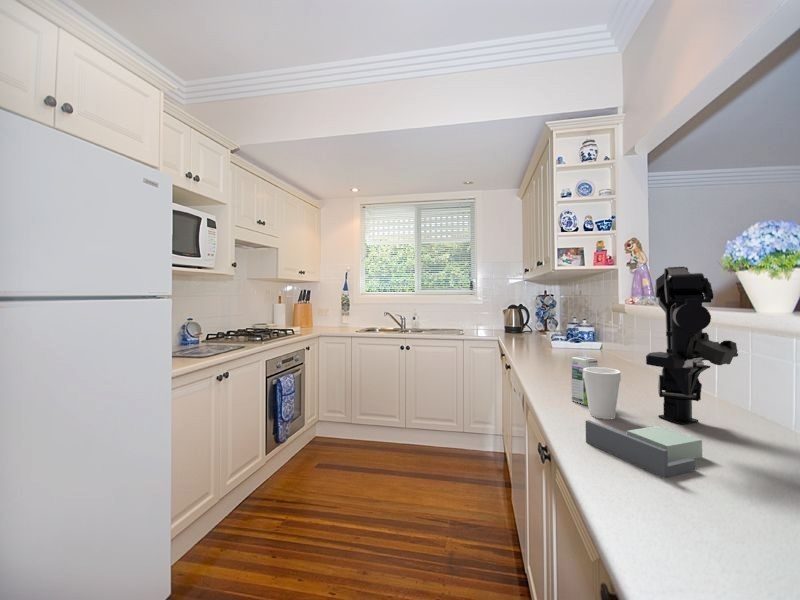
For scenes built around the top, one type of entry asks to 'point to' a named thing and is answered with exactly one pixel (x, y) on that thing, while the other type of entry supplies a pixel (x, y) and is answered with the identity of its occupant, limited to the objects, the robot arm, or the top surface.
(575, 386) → the syrup box
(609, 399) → the foam cup
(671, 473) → the stand
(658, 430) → the carton
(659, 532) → the top surface
